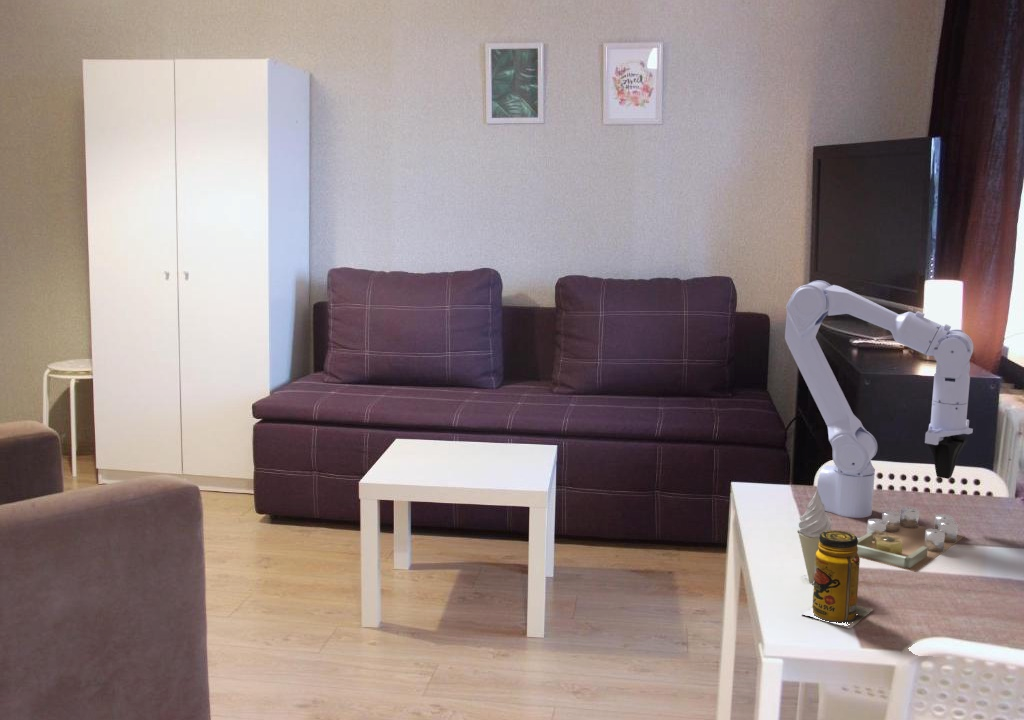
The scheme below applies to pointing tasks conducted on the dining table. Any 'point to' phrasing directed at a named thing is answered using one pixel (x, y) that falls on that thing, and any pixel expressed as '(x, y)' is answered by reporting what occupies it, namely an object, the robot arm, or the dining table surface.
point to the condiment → (837, 579)
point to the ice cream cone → (812, 532)
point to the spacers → (909, 519)
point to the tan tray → (911, 549)
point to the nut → (888, 544)
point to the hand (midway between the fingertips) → (943, 477)
